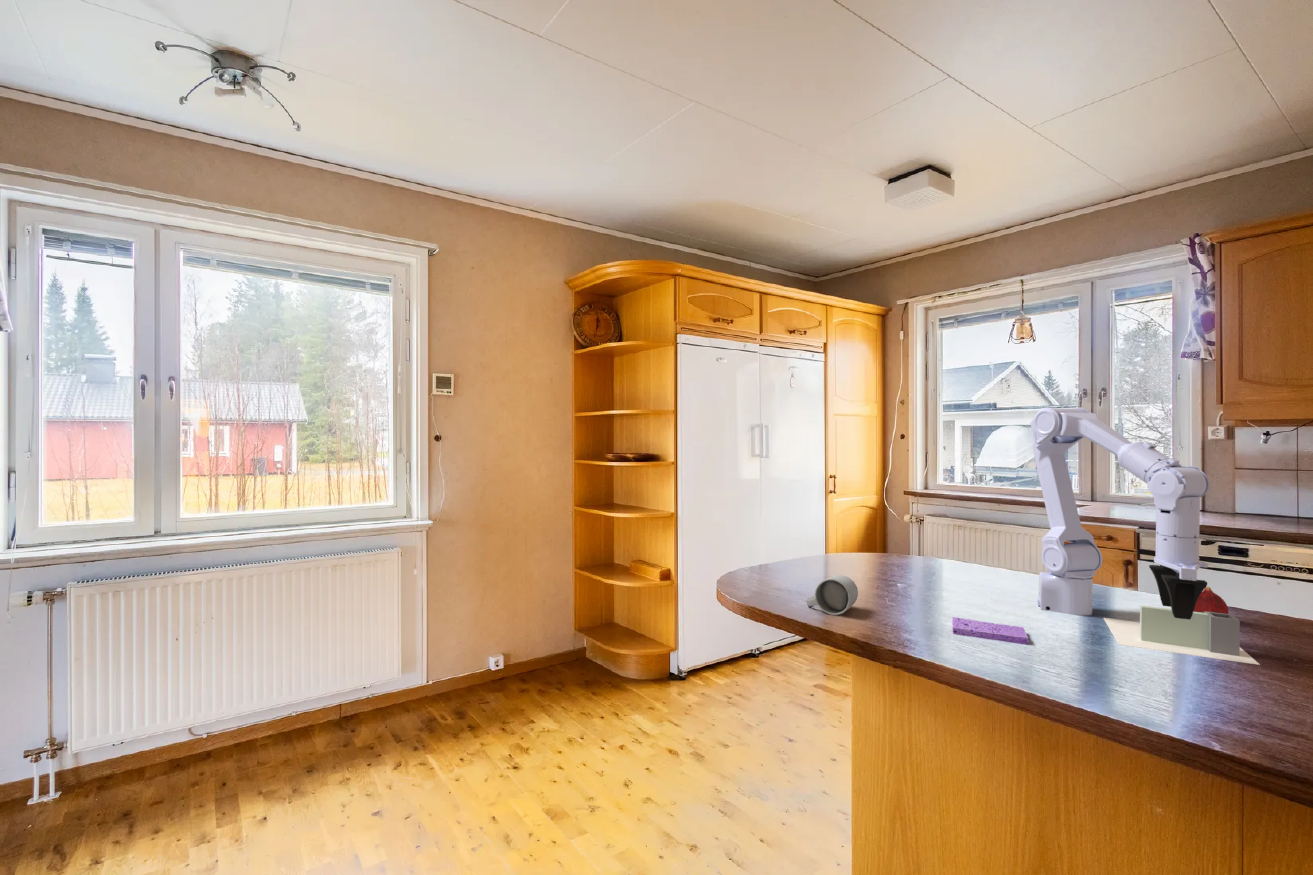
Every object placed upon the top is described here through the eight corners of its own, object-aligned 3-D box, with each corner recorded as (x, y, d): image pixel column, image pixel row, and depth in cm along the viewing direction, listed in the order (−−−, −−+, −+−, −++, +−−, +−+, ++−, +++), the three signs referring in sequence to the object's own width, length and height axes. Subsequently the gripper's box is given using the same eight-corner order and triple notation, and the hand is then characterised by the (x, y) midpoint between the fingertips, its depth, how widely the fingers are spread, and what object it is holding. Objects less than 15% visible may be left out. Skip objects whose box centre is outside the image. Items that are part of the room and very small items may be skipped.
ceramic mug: (860, 608, 129) (859, 573, 129) (850, 618, 122) (849, 581, 122) (812, 601, 135) (812, 568, 135) (800, 610, 128) (800, 575, 128)
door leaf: (1142, 642, 104) (1143, 608, 104) (1138, 636, 107) (1138, 603, 107) (1239, 656, 98) (1239, 620, 98) (1231, 649, 101) (1232, 614, 101)
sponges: (952, 625, 119) (952, 616, 119) (1025, 635, 113) (1025, 626, 113) (951, 636, 113) (951, 626, 113) (1028, 647, 107) (1028, 637, 107)
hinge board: (1119, 652, 103) (1119, 624, 103) (1102, 624, 118) (1103, 600, 118) (1260, 673, 94) (1260, 642, 94) (1223, 640, 109) (1223, 614, 109)
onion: (1236, 632, 113) (1236, 591, 113) (1201, 630, 114) (1202, 590, 114) (1214, 623, 119) (1214, 584, 119) (1181, 621, 120) (1181, 582, 120)
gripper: (1221, 544, 95) (1220, 628, 95) (1194, 530, 107) (1193, 604, 107) (1165, 540, 98) (1163, 620, 98) (1145, 527, 111) (1144, 599, 111)
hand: (1175, 612), depth 103 cm, fingers open, 7 cm apart
